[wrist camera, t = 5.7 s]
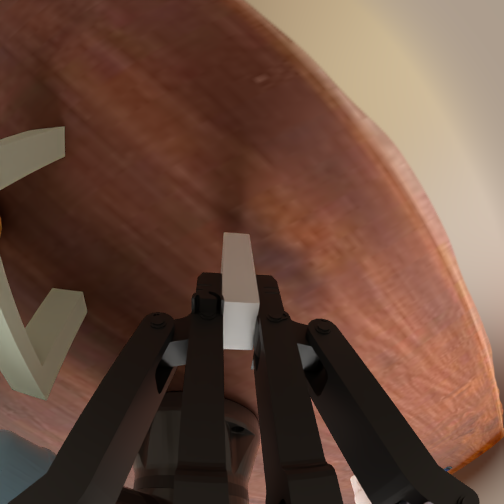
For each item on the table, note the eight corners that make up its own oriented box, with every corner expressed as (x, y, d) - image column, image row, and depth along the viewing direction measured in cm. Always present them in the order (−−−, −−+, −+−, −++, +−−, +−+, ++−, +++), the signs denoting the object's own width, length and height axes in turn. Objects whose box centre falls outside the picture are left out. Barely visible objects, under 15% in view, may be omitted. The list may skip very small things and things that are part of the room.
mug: (351, 516, 38) (390, 502, 36) (342, 478, 46) (378, 463, 44) (371, 516, 43) (404, 502, 41) (362, 484, 51) (393, 470, 49)
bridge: (64, 126, 15) (-35, 160, 7) (87, 311, 22) (46, 400, 14) (29, 130, 15) (-68, 167, 7) (57, 307, 22) (12, 389, 14)
